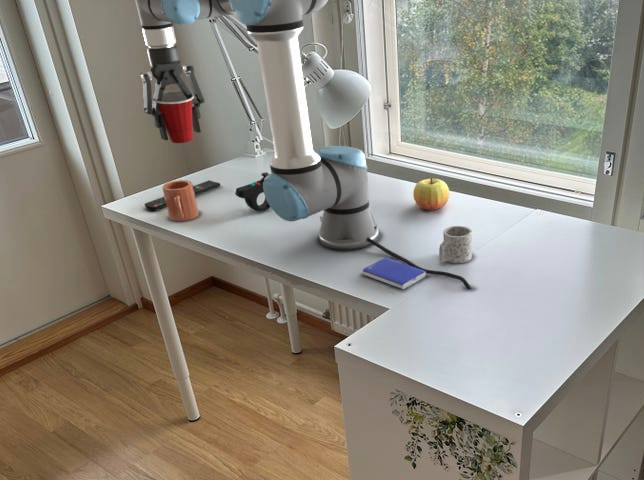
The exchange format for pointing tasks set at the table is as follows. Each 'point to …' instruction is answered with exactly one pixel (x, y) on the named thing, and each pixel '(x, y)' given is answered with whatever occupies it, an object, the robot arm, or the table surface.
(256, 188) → the controller
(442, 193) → the apple
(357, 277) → the table surface
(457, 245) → the mug
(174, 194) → the mug
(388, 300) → the table surface
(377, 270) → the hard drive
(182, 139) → the plastic cup
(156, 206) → the remote control
